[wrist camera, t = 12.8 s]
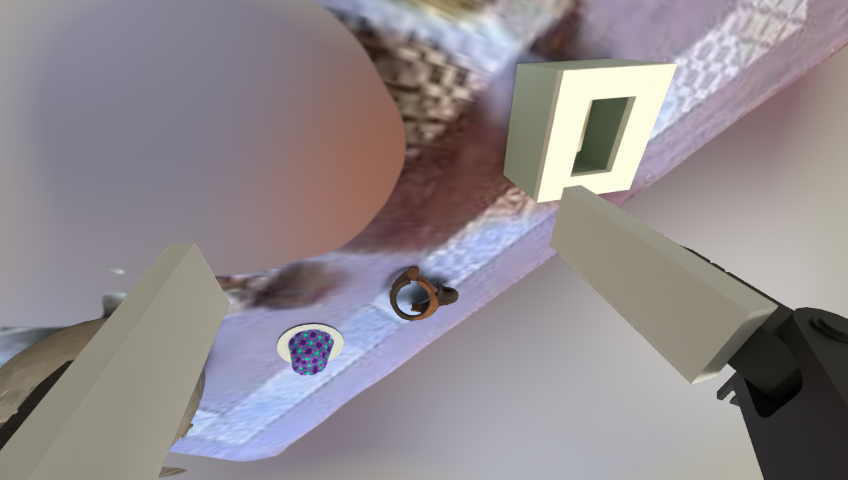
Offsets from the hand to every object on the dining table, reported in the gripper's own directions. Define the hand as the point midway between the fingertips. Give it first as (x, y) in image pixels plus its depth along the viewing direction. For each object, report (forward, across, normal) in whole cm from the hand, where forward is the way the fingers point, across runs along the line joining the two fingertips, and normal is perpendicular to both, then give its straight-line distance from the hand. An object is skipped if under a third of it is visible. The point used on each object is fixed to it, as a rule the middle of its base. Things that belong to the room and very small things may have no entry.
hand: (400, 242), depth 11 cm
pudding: (+32, -16, -42) cm, 55 cm away
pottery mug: (+32, +6, -32) cm, 46 cm away
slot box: (+32, +28, -5) cm, 42 cm away
